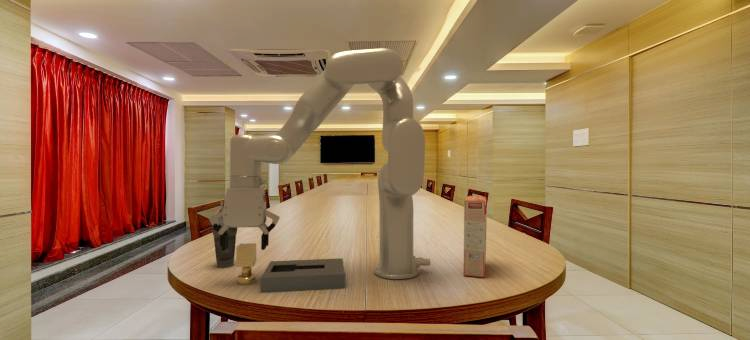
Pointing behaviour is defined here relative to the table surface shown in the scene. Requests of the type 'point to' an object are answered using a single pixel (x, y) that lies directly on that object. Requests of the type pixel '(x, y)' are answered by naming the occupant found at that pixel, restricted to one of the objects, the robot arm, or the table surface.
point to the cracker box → (475, 236)
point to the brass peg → (246, 263)
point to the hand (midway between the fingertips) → (244, 249)
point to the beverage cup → (227, 255)
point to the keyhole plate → (303, 275)
